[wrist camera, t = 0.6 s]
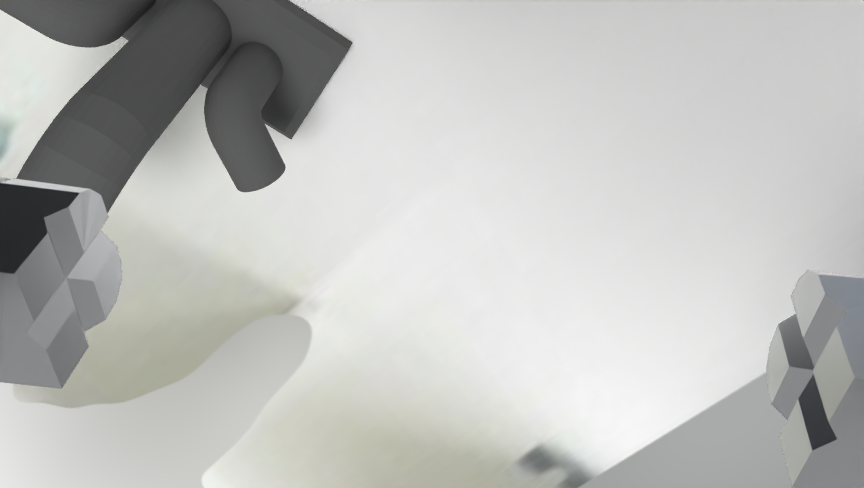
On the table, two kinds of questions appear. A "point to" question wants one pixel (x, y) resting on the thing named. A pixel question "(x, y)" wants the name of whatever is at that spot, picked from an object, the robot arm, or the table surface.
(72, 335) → the robot arm
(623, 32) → the table surface
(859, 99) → the table surface
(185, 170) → the table surface
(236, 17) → the faucet
